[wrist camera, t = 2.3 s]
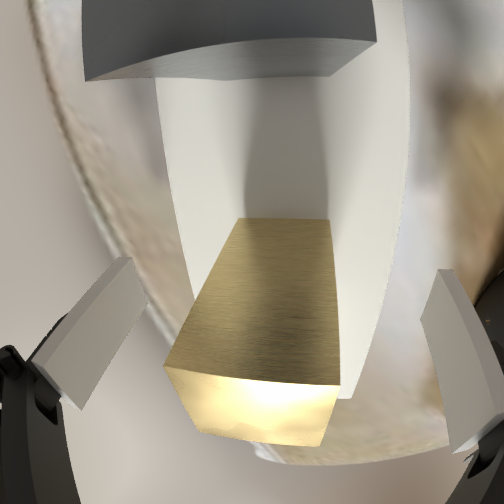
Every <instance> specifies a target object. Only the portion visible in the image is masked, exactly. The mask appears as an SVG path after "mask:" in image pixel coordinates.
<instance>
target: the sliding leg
mask: <svg viewBox="0 0 504 504" xmlns="http://www.w3.org/2000/svg"><path fill="white" fill-rule="evenodd" d="M163 367H164V369H165V371H166V373H167V374H168V377H169V379H170V381H171V382H172V384H173V386H174V388H175V390H176V392H177V394H178V395H179V397H180V399H181V401H182V403H183V405H184V406H185V408H186V410H187V412H188V414H189V415H190V417H191V419H192V420H193V422H194V424H195V426H196V427H197V429H198V431H199V432H203V433H208V434H213V435H218V436H223V437H229V438H235V439H241V440H248V441H255V442H263V443H273V444H283V445H297V446H319V445H320V443H321V440H322V438H323V435H324V432H325V430H326V427H327V424H328V421H329V419H330V416H331V413H332V410H333V407H334V404H335V401H336V398H337V395H338V392H339V389H340V340H339V318H338V301H337V287H336V275H335V263H334V253H333V244H332V235H331V226H330V220H323V219H286V218H238V220H237V222H236V223H235V225H234V227H233V229H232V231H231V233H230V235H229V237H228V238H227V240H226V242H225V244H224V246H223V248H222V250H221V252H220V254H219V256H218V257H217V259H216V261H215V263H214V265H213V267H212V269H211V271H210V273H209V275H208V277H207V279H206V281H205V283H204V285H203V286H202V288H201V290H200V292H199V294H198V296H197V298H196V300H195V302H194V304H193V306H192V308H191V310H190V312H189V314H188V316H187V318H186V320H185V322H184V324H183V326H182V328H181V330H180V332H179V334H178V336H177V338H176V340H175V342H174V344H173V346H172V348H171V350H170V353H169V355H168V357H167V359H166V361H165V363H164V365H163Z"/></svg>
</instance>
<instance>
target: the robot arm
mask: <svg viewBox="0 0 504 504" xmlns="http://www.w3.org/2000/svg"><path fill="white" fill-rule="evenodd" d="M147 304H148V303H147V300H146V298H145V295H144V292H143V289H142V286H141V283H140V281H139V278H138V275H137V272H136V269H135V266H134V262H133V259H132V257H118V258H117V259H116V260H115V262H114V263H113V264H112V265H111V266H110V267H109V268H108V269H107V270H106V271H105V272H104V273H103V274H102V276H101V277H100V278H99V279H98V280H97V281H96V282H95V283H94V284H93V285H92V286H91V288H90V289H89V290H88V291H87V292H86V293H85V294H84V296H83V297H82V298H81V299H80V300H79V301H78V303H77V304H76V305H75V306H74V307H73V308H72V309H71V311H70V312H69V313H67V314H66V315H64V316H63V317H62V318H61V319H59V320H58V321H57V323H56V324H55V325H54V326H53V328H52V330H50V331H49V333H48V334H47V336H45V337H44V339H43V340H42V341H41V343H40V344H39V345H38V346H37V348H36V349H35V350H34V352H33V353H32V354H31V356H30V357H29V358H28V360H27V361H26V362H25V361H24V360H23V358H22V357H21V355H20V354H19V353H18V351H17V350H16V349H15V348H14V346H12V345H6V346H4V347H2V348H1V349H0V403H2V410H1V409H0V504H81V502H80V498H79V495H78V492H77V488H76V484H75V480H74V476H73V471H72V467H71V462H70V458H69V452H68V447H67V441H66V435H65V428H64V420H63V412H62V406H61V403H60V402H59V399H60V397H62V398H63V399H64V400H65V401H66V402H67V403H68V404H69V405H70V406H72V407H75V408H76V409H79V410H81V411H82V409H83V407H84V406H85V404H86V402H87V400H88V399H89V397H90V395H91V394H92V392H93V390H94V389H95V387H96V385H97V383H98V382H99V380H100V378H101V377H102V375H103V373H104V371H105V370H106V368H107V367H108V365H109V364H110V362H111V360H112V359H113V357H114V355H115V354H116V352H117V351H118V349H119V347H120V346H121V344H122V343H123V341H124V339H125V338H126V336H127V335H128V333H129V332H130V330H131V328H132V327H133V325H134V324H135V322H136V321H137V319H138V318H139V316H140V315H141V313H142V312H143V310H144V309H145V307H146V306H147ZM420 320H421V323H422V326H423V329H424V332H425V335H426V339H427V342H428V345H429V349H430V352H431V356H432V360H433V363H434V367H435V371H436V375H437V379H438V383H439V387H440V392H441V396H442V401H443V406H444V411H445V417H446V422H447V428H448V434H449V441H450V449H451V454H453V453H457V452H461V451H465V450H468V449H470V448H471V447H472V446H474V445H475V444H476V443H478V445H479V449H478V450H476V451H475V452H474V453H472V454H471V455H470V456H468V457H467V458H466V459H465V460H464V462H465V463H466V462H468V461H469V460H470V459H472V460H471V461H470V463H469V465H468V467H467V469H466V471H465V473H464V474H463V476H462V478H461V480H460V481H459V483H458V485H457V486H456V488H455V489H454V491H453V493H452V494H451V496H450V498H449V499H448V500H447V502H446V503H445V504H504V349H503V348H502V347H501V345H500V344H499V343H498V342H497V341H496V340H493V341H490V340H489V338H488V336H487V334H486V331H485V329H484V327H483V325H482V323H481V321H480V319H479V317H478V315H477V313H476V311H475V309H474V307H473V305H472V303H471V301H470V299H469V297H468V296H467V294H466V292H465V290H464V288H463V287H462V285H461V283H460V281H459V280H458V278H457V276H456V274H455V273H454V271H453V270H442V269H438V270H437V274H436V277H435V280H434V283H433V286H432V289H431V292H430V295H429V298H428V301H427V303H426V306H425V309H424V311H423V314H422V317H421V319H420Z"/></svg>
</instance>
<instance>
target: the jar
mask: <svg viewBox="0 0 504 504" xmlns="http://www.w3.org/2000/svg"><path fill="white" fill-rule="evenodd" d="M475 311H476V313H477V315H478V317H479V319H480V321H481V323H482V325H483V327H484V329H485V331H486V334H487V336H488V338H489V340H490V341H493V340H496V341H497V342H498V343H499V344H500V345H501V347H502V348H503V349H504V270H503V271H502V272H501V273H500V274H499V275H498V276H497V277H496V278H495V279H494V280H493V281H492V282H491V283H490V285H489V286H488V287H487V288H486V290H485V291H484V293H483V294H482V296H481V297H480V299H479V301H478V303H477V305H476V307H475Z"/></svg>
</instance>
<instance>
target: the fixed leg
mask: <svg viewBox="0 0 504 504" xmlns="http://www.w3.org/2000/svg"><path fill="white" fill-rule="evenodd" d="M375 43H377V35H376V26H375V17H374V9H373V2H372V0H82V47H83V63H84V74H85V82H87V81H97V80H108V79H123V78H193V79H209V80H221V81H231V80H240V79H252V78H267V77H296V76H313V77H330V76H331V75H333V74H334V73H335V72H337V71H338V70H339V69H340V68H342V67H343V66H345V65H346V64H347V63H349V62H350V61H351V60H353V59H354V58H355V57H357V56H358V55H360V54H361V53H362V52H364V51H365V50H367V49H368V48H369V47H371V46H372V45H374V44H375Z"/></svg>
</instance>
